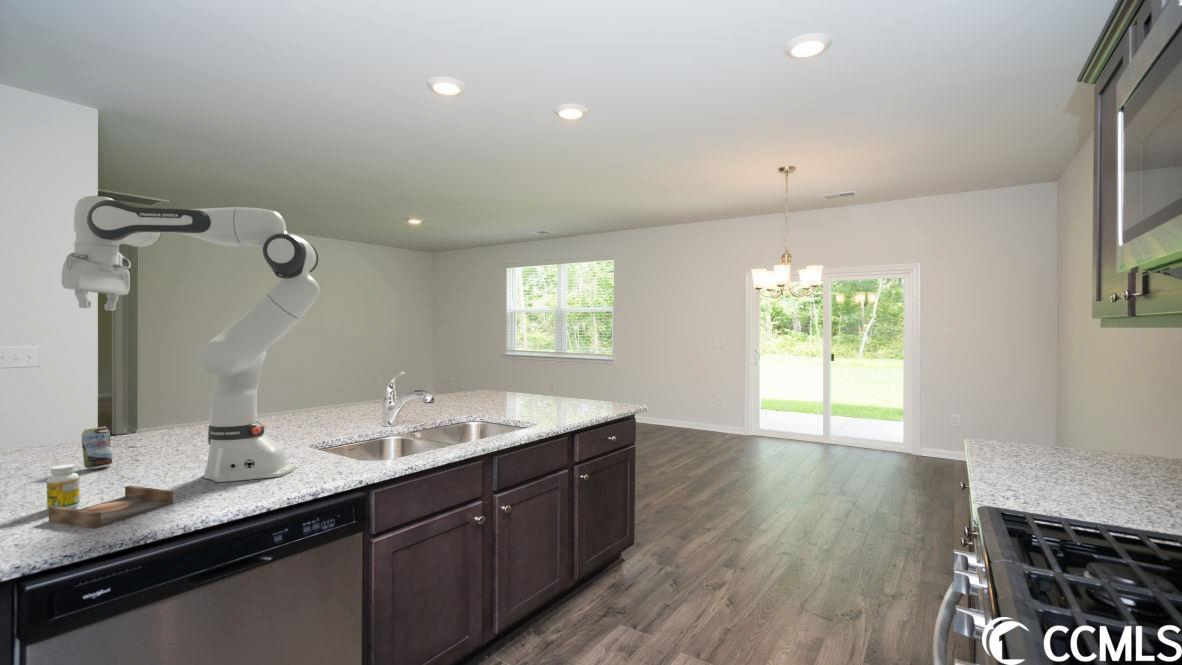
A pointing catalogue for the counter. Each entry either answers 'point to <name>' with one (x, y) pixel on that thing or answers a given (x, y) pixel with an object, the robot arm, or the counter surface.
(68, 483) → the supplement bottle
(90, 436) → the beverage can
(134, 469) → the counter surface
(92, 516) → the walled bay
